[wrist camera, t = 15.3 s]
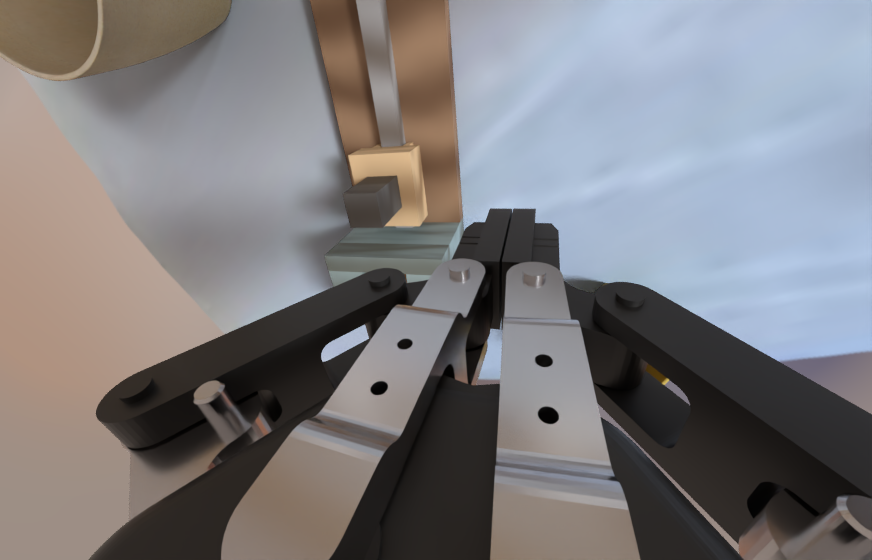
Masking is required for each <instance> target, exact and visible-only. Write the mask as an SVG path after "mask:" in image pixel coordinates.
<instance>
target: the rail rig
mask: <svg viewBox="0 0 872 560" xmlns="http://www.w3.org/2000/svg"><path fill="white" fill-rule="evenodd" d="M310 3H311V8H312V12H313V16H314V21H315V25H316V29H317V34H318V38H319V42H320V47H321V51H322V55H323V60H324V64H325V69H326V73H327V77H328V82H329V86H330V90H331V95H332V99H333V103H334V108H335V112H336V117H337V121H338V125H339V130H340V134H341V138H342V143H343V147H344V151H345V156H346V160H347V164H348V169H349V173H350V178H351V182H352V186H355V184H354V179H353V175H352V171H351V166H350V162H349V157H348V155H350V154H352V153H354V152H356V151H358V150H360V149H361V148H372V147H374V146H376V145H378V144H381V146H382V147H392V146H403V145H405V144H406V143H410V142H413V145H419V146H420V154H421V163H422V171H423V179H424V187H425V195H426V204H427V212H428V215H427V217H426V218H425V220H424V221H423V222H422V224H421V225H420V226H384V227H383V228H354V229H353V230H352V231H351V232H350V233H349V234H347V235H346V236H345V237H344V238H343V239H342V240H341V241H340V242H339V243H338V244H337V245H336V246H334V247H333V248H332V249H331V250H330V251H329V252H328V253H327V254H326V255H325V256H324V257H325V261H326V264H327V267H328V270H329V274H330V277H331V280H332V284H333V287H335V286H337V285H339V284H342V283H344V282H346V281H348V280H351V279H353V278H355V277H358V276H360V275H362V274H364V273H367V272H369V271H372V270H375V269H380V268H393V269H397V270H400V271H401V272H402V273H403V274H406V278H407V283H410V282H418V281H424V280H429V278H430V277H431V275H432V274H433V272H434V271H435V269H436V268H437V267H438V266H439V265H440V264H442V263H444V262H446V261H449V260H452V258H453V255H454V253H455V251H456V249H457V246H458V244H459V242H460V240H461V238H462V235H463V233H464V227H463V212H462V197H461V182H460V168H459V153H458V138H457V123H456V108H455V93H454V78H453V63H452V49H451V34H450V19H449V4H448V0H310Z"/></svg>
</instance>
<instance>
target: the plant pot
mask: <svg viewBox="0 0 872 560" xmlns="http://www.w3.org/2000/svg"><path fill="white" fill-rule="evenodd" d="M231 2H232V0H0V57H1V58H3V59H4V60H6V61H7V62H9V63H11V64H12V65H14V66H16V67H17V68H19V69H21V70H23V71H25V72H27V73H29V74H32V75H34V76H37V77H40V78H43V79H48V80H54V81H66V80H72V79H76V78H81V77H86V76H90V75H95V74H100V73H104V72H108V71H112V70H117V69H121V68H125V67H128V66H132V65H136V64H139V63H142V62H145V61H148V60H151V59H154V58H157V57H160V56H163V55H165V54H168V53H170V52H172V51H175V50H177V49H179V48H182V47H184V46H186V45H188V44H190V43H192V42H194V41H196V40H197V39H199V38H201V37H203V36H204V35H206V34H207V33H209V32H210V31H212V30H213V29H215V28H216V27H218V26H219V25H220V24H222V23H223V22H224V21H225V19H226V18H227V16H228V14H229V12H230V8H231Z"/></svg>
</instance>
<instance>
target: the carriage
mask: <svg viewBox="0 0 872 560" xmlns="http://www.w3.org/2000/svg"><path fill="white" fill-rule="evenodd" d="M348 157H349V162H350V166H351V171H352V175H353V179H354V184H355V186H353V187H352V188H350V189H349V190H348V191H346V192H345V193H343V198H344V202H345V206H346V210H347V214H348V218H349V222H350V226H351V228H383V227H384V226H420V225H421V224H422V222H423V221H424V220H425V218H426V217H427V215H428V212H427V204H426V195H425V187H424V179H423V171H422V163H421V154H420V146H419V145H413V142H410V143H406V144H405V145H403V146H392V147H382V146H381V144H378V145H376V146H374V147H372V148H361V149H360V150H358V151H356V152H354V153H352V154H350V155H348Z"/></svg>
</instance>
